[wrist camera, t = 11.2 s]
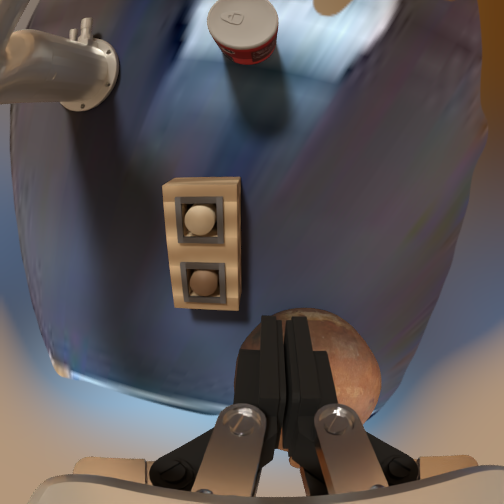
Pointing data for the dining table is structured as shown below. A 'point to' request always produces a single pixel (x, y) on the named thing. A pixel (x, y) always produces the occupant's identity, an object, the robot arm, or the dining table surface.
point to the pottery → (335, 359)
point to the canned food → (244, 29)
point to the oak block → (204, 240)
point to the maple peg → (201, 218)
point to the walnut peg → (204, 281)
